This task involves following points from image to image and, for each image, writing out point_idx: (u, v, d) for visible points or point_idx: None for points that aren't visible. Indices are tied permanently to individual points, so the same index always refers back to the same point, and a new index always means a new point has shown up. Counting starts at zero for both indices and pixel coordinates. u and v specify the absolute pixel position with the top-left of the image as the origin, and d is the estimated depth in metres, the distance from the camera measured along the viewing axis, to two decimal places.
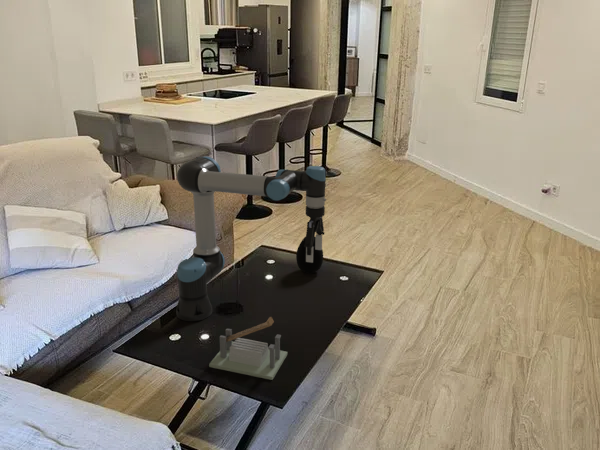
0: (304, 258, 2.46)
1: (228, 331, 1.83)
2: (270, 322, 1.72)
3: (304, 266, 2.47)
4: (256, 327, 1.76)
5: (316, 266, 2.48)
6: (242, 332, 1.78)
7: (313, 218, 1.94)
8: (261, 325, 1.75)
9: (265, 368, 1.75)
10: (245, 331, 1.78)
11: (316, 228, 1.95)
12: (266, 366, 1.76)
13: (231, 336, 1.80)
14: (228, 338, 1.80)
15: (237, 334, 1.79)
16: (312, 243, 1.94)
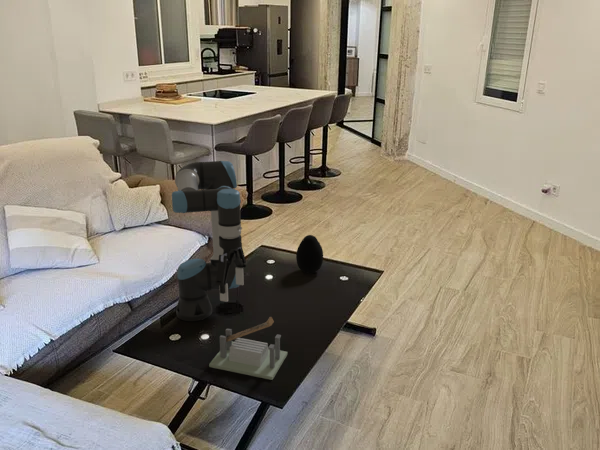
0: (304, 258, 2.46)
1: (228, 331, 1.83)
2: (270, 322, 1.72)
3: (304, 266, 2.47)
4: (256, 327, 1.76)
5: (316, 266, 2.48)
6: (242, 332, 1.78)
7: (227, 250, 1.65)
8: (261, 325, 1.75)
9: (265, 368, 1.75)
10: (245, 331, 1.78)
11: (231, 262, 1.67)
12: (266, 366, 1.76)
13: (231, 336, 1.80)
14: (228, 338, 1.80)
15: (237, 334, 1.79)
16: (225, 280, 1.65)
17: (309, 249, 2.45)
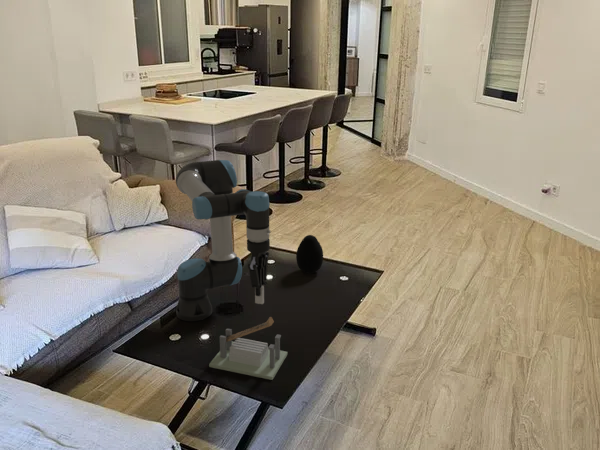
0: (304, 258, 2.46)
1: (228, 331, 1.83)
2: (270, 322, 1.72)
3: (304, 266, 2.47)
4: (256, 327, 1.76)
5: (316, 266, 2.48)
6: (242, 332, 1.78)
7: (255, 254, 1.62)
8: (261, 325, 1.75)
9: (265, 368, 1.75)
10: (245, 331, 1.78)
11: (261, 267, 1.65)
12: (266, 366, 1.76)
13: (231, 336, 1.80)
14: (228, 338, 1.80)
15: (237, 334, 1.79)
16: (260, 283, 1.67)
17: (309, 249, 2.45)
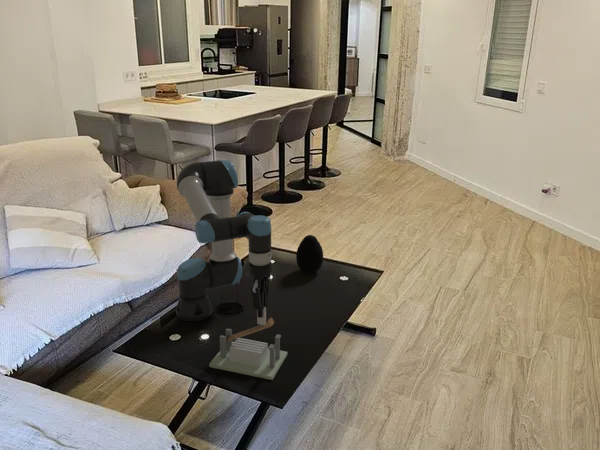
0: (304, 258, 2.46)
1: (228, 331, 1.83)
2: (270, 323, 1.72)
3: (304, 266, 2.47)
4: (256, 328, 1.76)
5: (316, 266, 2.48)
6: (242, 332, 1.78)
7: (257, 277, 1.65)
8: (261, 326, 1.75)
9: (265, 368, 1.75)
10: (245, 331, 1.78)
11: (263, 289, 1.68)
12: (266, 366, 1.76)
13: (231, 336, 1.80)
14: (228, 338, 1.80)
15: (237, 334, 1.79)
16: (263, 305, 1.70)
17: (309, 249, 2.45)
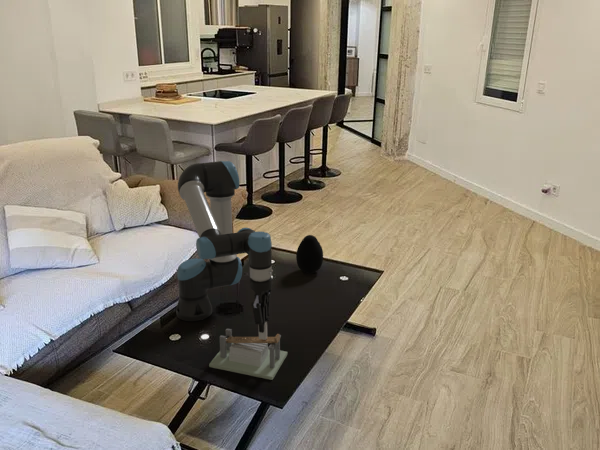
0: (304, 258, 2.46)
1: (228, 331, 1.83)
2: (277, 339, 1.74)
3: (304, 266, 2.47)
4: (261, 339, 1.76)
5: (316, 266, 2.48)
6: (245, 338, 1.79)
7: (258, 292, 1.66)
8: (267, 339, 1.76)
9: (265, 368, 1.75)
10: (248, 339, 1.78)
11: (264, 304, 1.69)
12: (266, 366, 1.76)
13: (232, 338, 1.81)
14: (229, 340, 1.80)
15: (239, 339, 1.79)
16: (264, 320, 1.72)
17: (309, 249, 2.45)
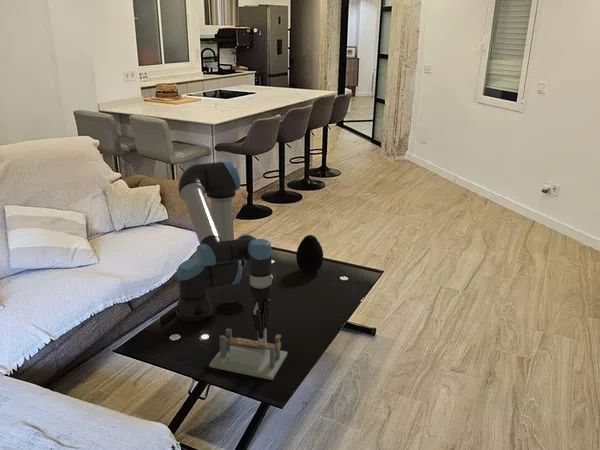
0: (304, 258, 2.46)
1: (228, 331, 1.83)
2: (278, 347, 1.75)
3: (304, 266, 2.47)
4: None
5: (316, 266, 2.48)
6: (245, 341, 1.79)
7: (258, 299, 1.67)
8: (268, 345, 1.77)
9: (265, 368, 1.75)
10: (249, 342, 1.79)
11: (264, 311, 1.70)
12: (266, 366, 1.76)
13: (233, 339, 1.81)
14: (229, 340, 1.80)
15: (240, 341, 1.80)
16: (263, 326, 1.73)
17: (309, 249, 2.45)
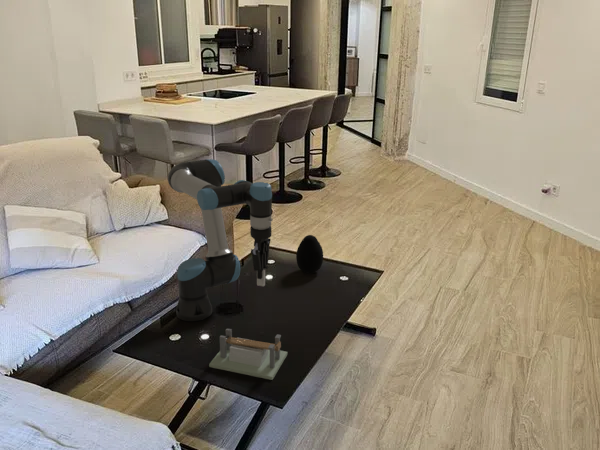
0: (304, 258, 2.46)
1: (228, 331, 1.83)
2: (278, 347, 1.75)
3: (304, 266, 2.47)
4: (262, 344, 1.77)
5: (316, 266, 2.48)
6: (245, 341, 1.79)
7: (257, 240, 1.75)
8: (268, 345, 1.77)
9: (265, 368, 1.75)
10: (249, 342, 1.79)
11: (263, 252, 1.78)
12: (266, 366, 1.76)
13: (233, 339, 1.81)
14: (229, 340, 1.80)
15: (240, 341, 1.80)
16: (262, 267, 1.81)
17: (309, 249, 2.45)
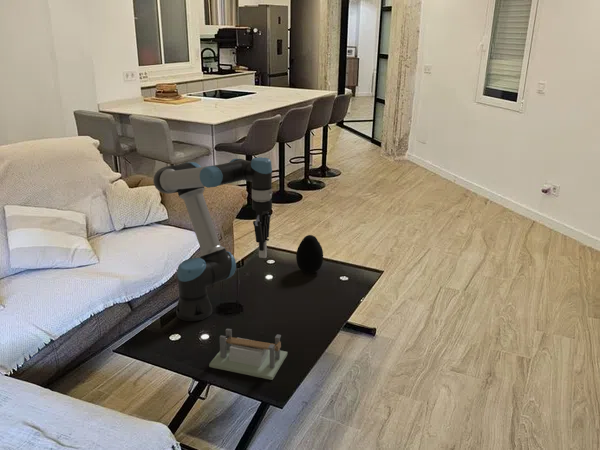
0: (304, 258, 2.46)
1: (228, 331, 1.83)
2: (278, 347, 1.75)
3: (304, 266, 2.47)
4: (262, 344, 1.77)
5: (316, 266, 2.48)
6: (245, 341, 1.79)
7: (259, 212, 1.85)
8: (268, 345, 1.77)
9: (265, 368, 1.75)
10: (249, 342, 1.79)
11: (264, 224, 1.88)
12: (266, 366, 1.76)
13: (233, 339, 1.81)
14: (229, 340, 1.80)
15: (240, 341, 1.80)
16: (264, 239, 1.91)
17: (309, 249, 2.45)
